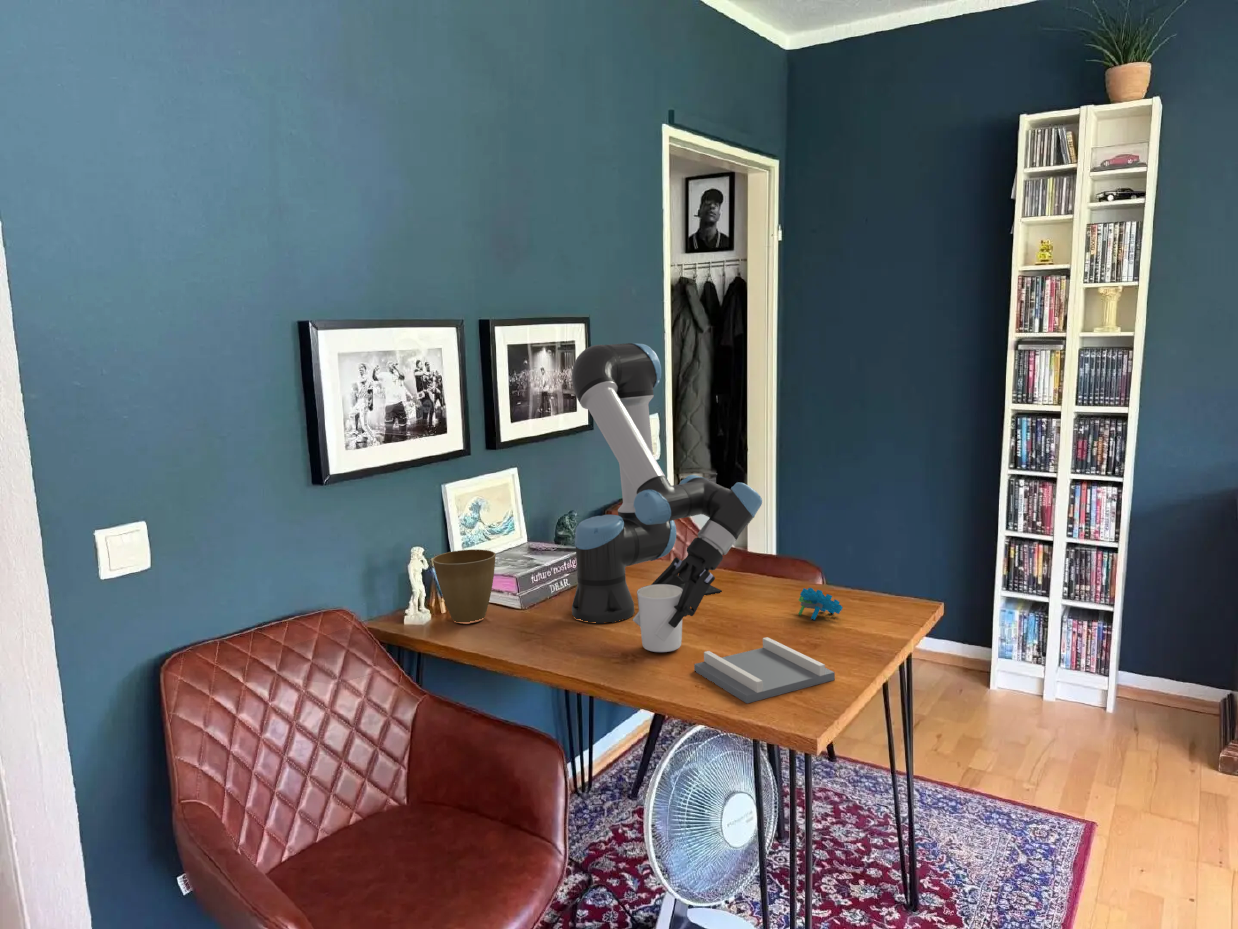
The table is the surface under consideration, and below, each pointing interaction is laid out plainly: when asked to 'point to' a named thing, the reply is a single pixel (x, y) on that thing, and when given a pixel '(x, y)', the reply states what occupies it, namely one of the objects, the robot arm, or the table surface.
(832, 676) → the grey tray with rails
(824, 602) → the gear
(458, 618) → the plant pot
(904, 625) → the table surface
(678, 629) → the candle holder
